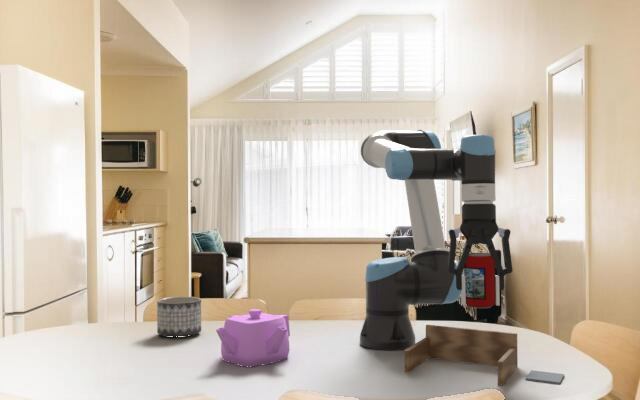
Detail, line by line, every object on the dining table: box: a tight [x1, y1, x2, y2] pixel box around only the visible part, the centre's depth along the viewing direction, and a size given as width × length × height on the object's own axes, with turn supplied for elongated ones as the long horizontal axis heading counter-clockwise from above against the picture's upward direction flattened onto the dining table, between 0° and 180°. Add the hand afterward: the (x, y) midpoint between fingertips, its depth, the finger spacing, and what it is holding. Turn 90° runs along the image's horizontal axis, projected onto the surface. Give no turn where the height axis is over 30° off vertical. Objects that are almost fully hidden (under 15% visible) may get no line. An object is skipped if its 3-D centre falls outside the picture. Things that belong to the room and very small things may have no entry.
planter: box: [156, 296, 202, 337], centre depth 181 cm, size 13×13×10 cm
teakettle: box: [215, 308, 291, 368], centre depth 153 cm, size 17×17×12 cm
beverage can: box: [463, 252, 496, 309], centre depth 139 cm, size 7×7×12 cm
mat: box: [525, 370, 565, 385], centre depth 135 cm, size 7×7×1 cm
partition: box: [403, 324, 518, 386], centre depth 142 cm, size 22×16×8 cm
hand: (480, 304), depth 139 cm, fingers closed on beverage can, 7 cm apart
